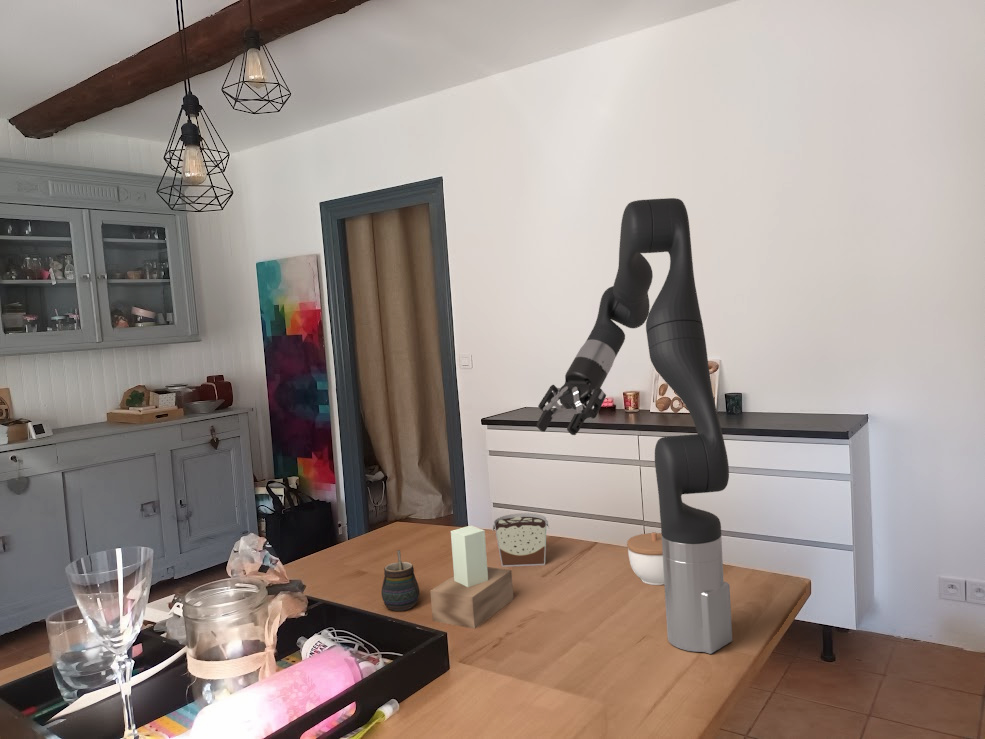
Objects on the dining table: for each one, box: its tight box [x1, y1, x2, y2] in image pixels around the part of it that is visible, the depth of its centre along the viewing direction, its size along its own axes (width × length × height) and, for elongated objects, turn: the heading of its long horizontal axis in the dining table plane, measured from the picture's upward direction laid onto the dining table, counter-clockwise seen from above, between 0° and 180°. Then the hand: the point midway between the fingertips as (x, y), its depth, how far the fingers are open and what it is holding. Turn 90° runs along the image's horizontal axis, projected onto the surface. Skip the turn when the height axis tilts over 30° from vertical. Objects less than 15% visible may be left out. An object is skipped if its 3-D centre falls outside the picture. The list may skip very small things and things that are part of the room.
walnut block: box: [429, 566, 514, 630], centre depth 138 cm, size 9×14×6 cm, turn 149°
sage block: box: [450, 524, 488, 587], centre depth 137 cm, size 4×4×10 cm
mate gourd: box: [380, 549, 421, 612], centre depth 142 cm, size 7×8×10 cm
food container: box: [491, 512, 550, 567], centre depth 162 cm, size 12×6×10 cm, turn 84°
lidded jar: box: [626, 531, 664, 586], centre depth 146 cm, size 11×11×9 cm
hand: (555, 431), depth 146 cm, fingers open, 8 cm apart
